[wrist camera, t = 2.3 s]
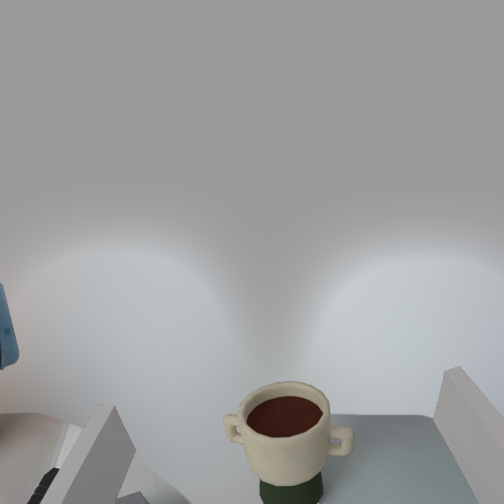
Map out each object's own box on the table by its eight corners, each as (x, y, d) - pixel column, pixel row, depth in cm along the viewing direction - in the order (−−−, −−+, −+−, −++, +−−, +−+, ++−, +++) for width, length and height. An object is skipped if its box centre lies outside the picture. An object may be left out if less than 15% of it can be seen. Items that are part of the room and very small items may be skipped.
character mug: (350, 473, 27) (360, 383, 24) (338, 527, 20) (350, 448, 17) (252, 461, 31) (234, 374, 28) (228, 509, 24) (198, 427, 21)
